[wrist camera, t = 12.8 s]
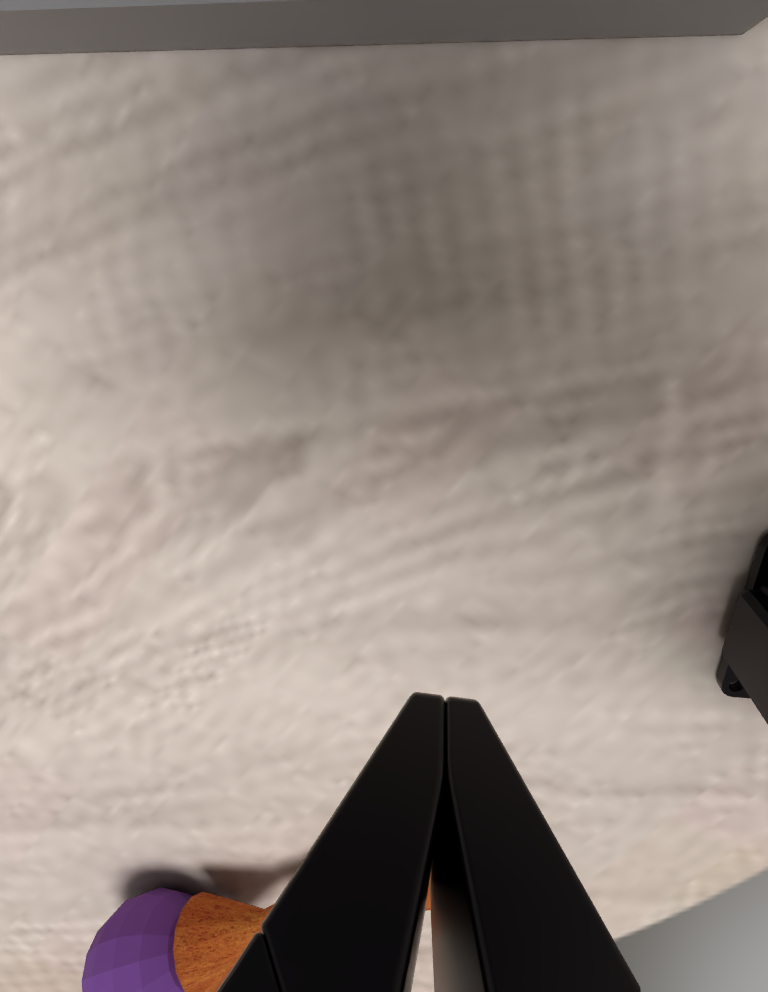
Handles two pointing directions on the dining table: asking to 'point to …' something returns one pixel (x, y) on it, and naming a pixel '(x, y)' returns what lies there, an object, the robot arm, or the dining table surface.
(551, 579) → the dining table surface
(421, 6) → the charcoal board
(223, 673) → the dining table surface
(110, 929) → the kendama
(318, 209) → the dining table surface
